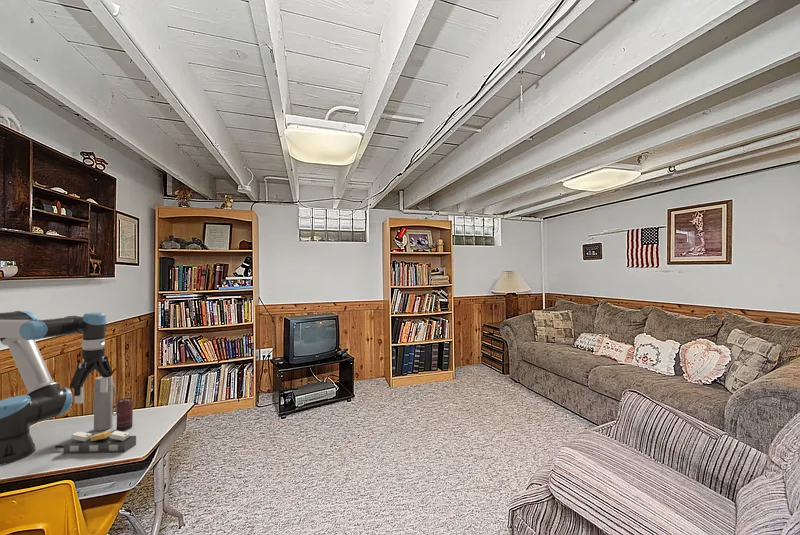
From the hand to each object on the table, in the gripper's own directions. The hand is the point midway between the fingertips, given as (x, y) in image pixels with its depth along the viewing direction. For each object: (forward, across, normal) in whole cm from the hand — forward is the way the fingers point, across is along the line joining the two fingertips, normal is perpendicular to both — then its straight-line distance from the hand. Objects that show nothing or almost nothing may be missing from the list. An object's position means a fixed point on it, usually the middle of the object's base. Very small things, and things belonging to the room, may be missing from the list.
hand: (91, 397), depth 155 cm
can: (+22, +19, -2) cm, 29 cm away
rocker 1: (+16, -2, +2) cm, 16 cm away
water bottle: (+22, +21, +8) cm, 32 cm away
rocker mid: (+16, -2, -6) cm, 17 cm away
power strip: (+22, -2, -3) cm, 22 cm away
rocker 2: (+16, -2, -14) cm, 21 cm away
